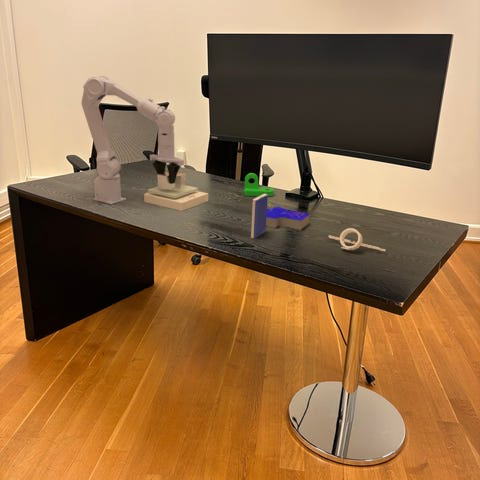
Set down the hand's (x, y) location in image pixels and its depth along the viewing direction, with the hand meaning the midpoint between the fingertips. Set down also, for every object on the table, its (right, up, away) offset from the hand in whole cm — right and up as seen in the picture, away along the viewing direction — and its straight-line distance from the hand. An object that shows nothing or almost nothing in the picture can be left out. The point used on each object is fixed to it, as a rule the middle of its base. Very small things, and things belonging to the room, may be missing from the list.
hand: (167, 182), depth 173 cm
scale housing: (+3, -7, +5) cm, 9 cm away
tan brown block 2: (+3, -1, +6) cm, 7 cm away
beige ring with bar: (+59, -25, -36) cm, 73 cm away
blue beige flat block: (+41, -16, -15) cm, 47 cm away
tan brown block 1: (0, -2, 0) cm, 2 cm away
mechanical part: (+35, -3, +20) cm, 40 cm away
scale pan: (+2, -3, +4) cm, 5 cm away
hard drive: (+33, -20, -25) cm, 46 cm away
